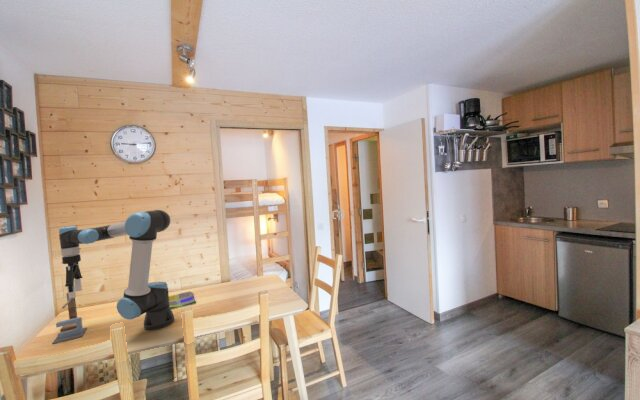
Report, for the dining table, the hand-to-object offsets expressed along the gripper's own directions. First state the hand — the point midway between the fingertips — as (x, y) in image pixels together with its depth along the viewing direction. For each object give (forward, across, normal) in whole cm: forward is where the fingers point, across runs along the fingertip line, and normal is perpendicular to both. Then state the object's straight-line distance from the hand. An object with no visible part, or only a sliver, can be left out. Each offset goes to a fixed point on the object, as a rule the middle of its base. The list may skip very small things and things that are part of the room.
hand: (75, 294), depth 159 cm
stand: (+22, +14, +7) cm, 27 cm away
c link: (+21, 0, +4) cm, 21 cm away
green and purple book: (+22, +16, -50) cm, 57 cm away
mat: (+22, 0, +4) cm, 22 cm away
